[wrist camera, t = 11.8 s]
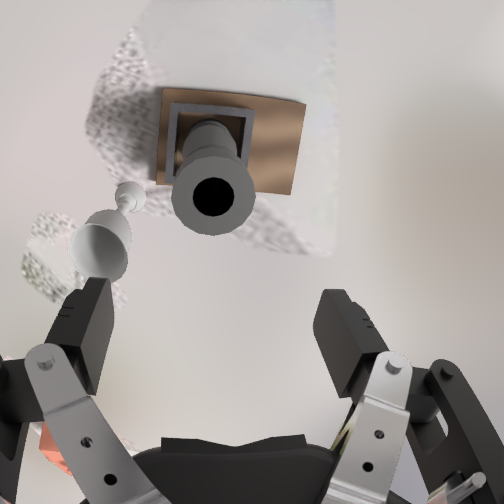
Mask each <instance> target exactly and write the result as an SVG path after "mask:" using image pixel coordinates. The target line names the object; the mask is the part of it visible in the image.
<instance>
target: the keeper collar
mask: <svg viewBox="0 0 504 504" xmlns="http://www.w3.org/2000/svg"><path fill="white" fill-rule="evenodd" d="M181 112H194V113H208V114H219V115H230V116H239V117H242V119H241V127H240V134H239V142H238V149H237V157H239V158H240V159H241V161H242V162H243V164H244V165H245V167H246V169H247V167H248V160H249V153H250V146H251V139H252V131H253V125H254V118H255V110H253V109H251V108H245V107H236V106H227V105H216V104H204V103H190V102H173V103H171V106H170V117H169V128H168V140H167V154H166V170H165V183H168V184H174V180H175V177H176V173H177V170H178V169H179V167H176V163H177V150H178V138H179V127H180V116H181Z"/></svg>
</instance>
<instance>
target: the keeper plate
mask: <svg viewBox="0 0 504 504" xmlns="http://www.w3.org/2000/svg"><path fill="white" fill-rule="evenodd" d="M173 102H190V103H204V104H216V105H227V106H236V107H245V108H251V109H253V110H255V118H254V125H253V131H252V139H251V146H250V153H249V160H248V167H247V170H248V172H249V174H250V176H251V178H252V180H253V182H254V189H255V192H264V193H274V194H284V195H290V194H291V189H292V183H293V178H294V172H295V167H296V161H297V156H298V150H299V145H300V139H301V133H302V127H303V121H304V116H305V110H306V104H302V103H297V102H291V101H285V100H279V99H272V98H265V97H258V96H251V95H242V94H234V93H224V92H213V91H201V90H186V89H163V94H162V104H161V115H160V127H159V140H158V156H157V175H156V185H172V186H173V184H168V183H165V170H166V154H167V140H168V128H169V117H170V106H171V103H173ZM207 118H211V119H217V120H219V121H220V122H222V123H223V124H225V125H226V127H227V129H228V130H229V132H230V133H231V136H232V138H233V140H234V141H235V143H236V149H238V142H239V134H240V127H241V119H242V117H239V116H230V115H219V114H208V113H194V112H181V116H180V127H179V138H178V150H177V163H176V167H180V166H181V164H182V163H183V161H184V160H183V155H182V151H183V146H184V142H185V141H186V136H187V133H188V131H189V130H190V128H191V127H192V125H193V124H195V123H196V122H198V121H199V120H202V119H207Z"/></svg>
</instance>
